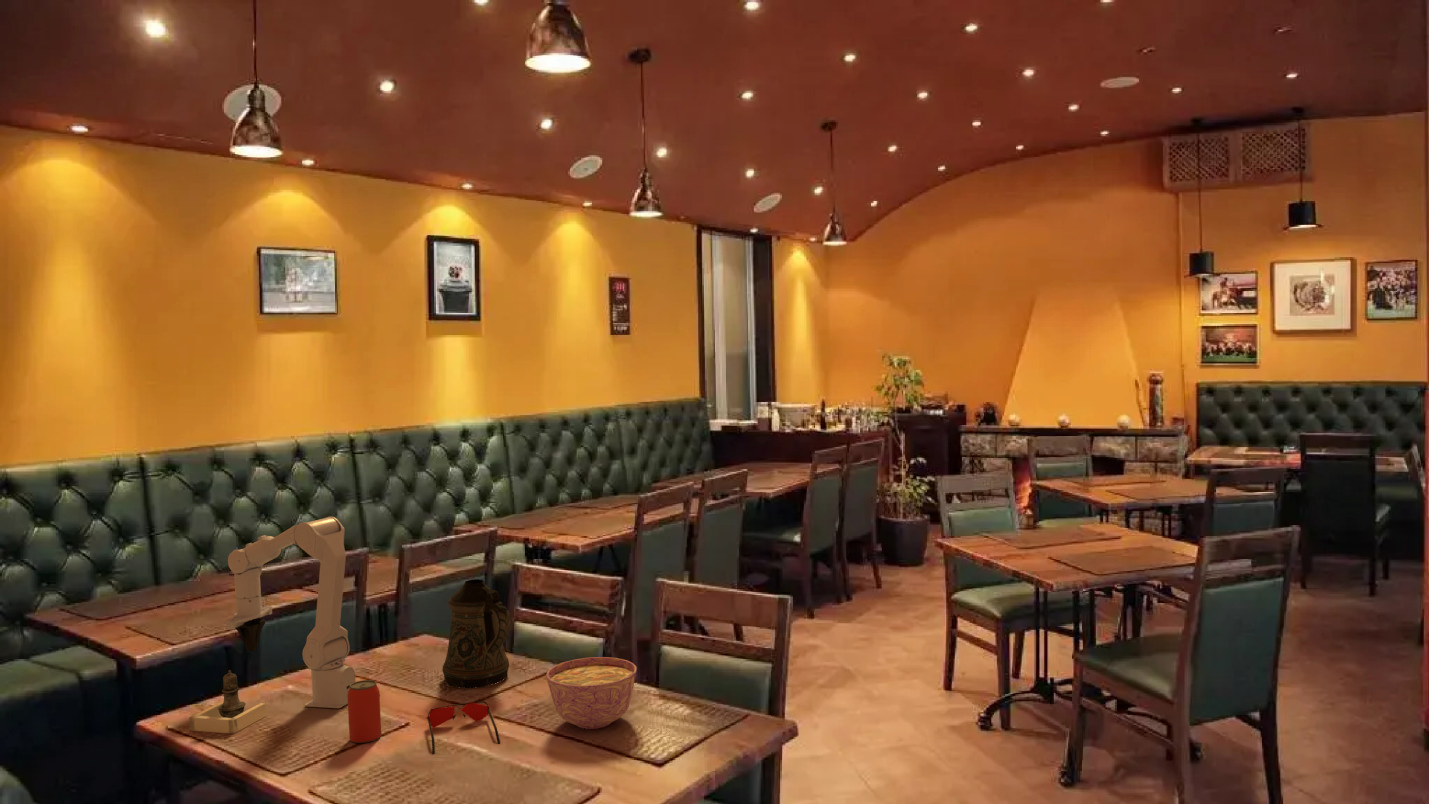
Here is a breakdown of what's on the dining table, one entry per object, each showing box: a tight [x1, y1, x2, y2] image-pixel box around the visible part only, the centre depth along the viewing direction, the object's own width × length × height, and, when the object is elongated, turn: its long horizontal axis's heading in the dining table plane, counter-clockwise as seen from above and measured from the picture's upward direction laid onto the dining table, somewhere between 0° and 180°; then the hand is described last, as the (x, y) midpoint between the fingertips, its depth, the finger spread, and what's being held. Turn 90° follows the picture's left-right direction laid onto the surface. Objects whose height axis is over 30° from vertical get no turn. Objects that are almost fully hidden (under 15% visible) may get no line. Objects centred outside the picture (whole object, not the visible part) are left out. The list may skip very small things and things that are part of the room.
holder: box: [188, 700, 267, 735], centre depth 232 cm, size 11×11×3 cm
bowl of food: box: [545, 656, 638, 730], centre depth 226 cm, size 20×20×12 cm
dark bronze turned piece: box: [218, 669, 247, 718], centre depth 233 cm, size 6×6×12 cm
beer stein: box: [441, 578, 512, 689], centre depth 258 cm, size 16×19×25 cm
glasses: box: [426, 700, 501, 755], centre depth 221 cm, size 14×16×5 cm
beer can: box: [347, 679, 382, 744], centre depth 220 cm, size 7×7×12 cm
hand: (251, 650), depth 253 cm, fingers closed
